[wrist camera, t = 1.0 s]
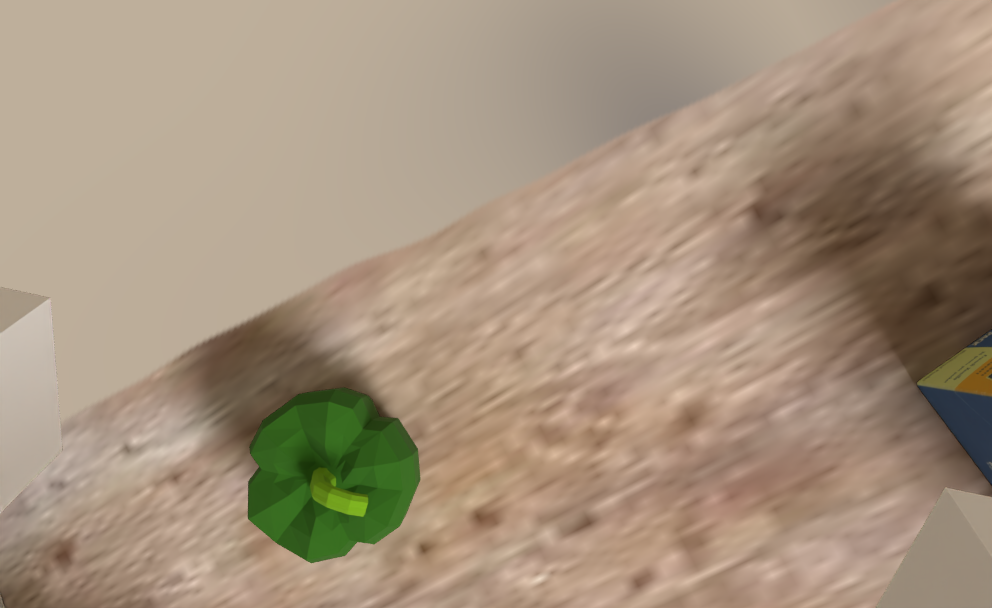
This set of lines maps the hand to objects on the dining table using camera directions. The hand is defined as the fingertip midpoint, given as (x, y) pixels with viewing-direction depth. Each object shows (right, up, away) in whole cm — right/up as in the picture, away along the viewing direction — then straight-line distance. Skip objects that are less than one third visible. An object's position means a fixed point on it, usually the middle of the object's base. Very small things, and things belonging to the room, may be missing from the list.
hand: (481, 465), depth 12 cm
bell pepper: (-8, -6, +33) cm, 34 cm away
